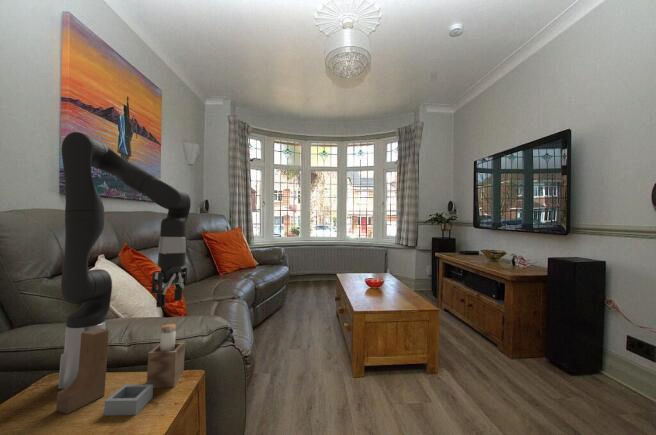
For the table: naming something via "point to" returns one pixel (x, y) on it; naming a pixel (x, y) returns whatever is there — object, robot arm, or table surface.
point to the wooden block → (87, 372)
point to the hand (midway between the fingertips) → (169, 303)
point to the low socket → (128, 400)
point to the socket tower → (165, 366)
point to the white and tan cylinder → (168, 337)
